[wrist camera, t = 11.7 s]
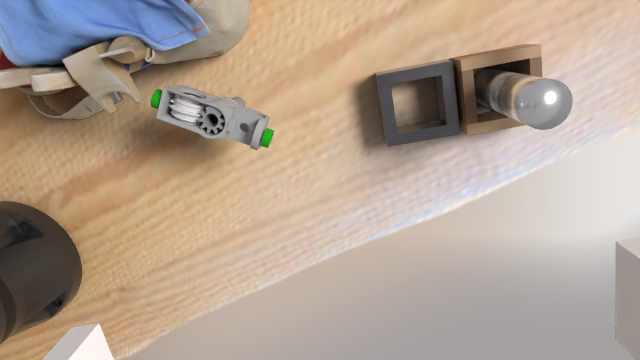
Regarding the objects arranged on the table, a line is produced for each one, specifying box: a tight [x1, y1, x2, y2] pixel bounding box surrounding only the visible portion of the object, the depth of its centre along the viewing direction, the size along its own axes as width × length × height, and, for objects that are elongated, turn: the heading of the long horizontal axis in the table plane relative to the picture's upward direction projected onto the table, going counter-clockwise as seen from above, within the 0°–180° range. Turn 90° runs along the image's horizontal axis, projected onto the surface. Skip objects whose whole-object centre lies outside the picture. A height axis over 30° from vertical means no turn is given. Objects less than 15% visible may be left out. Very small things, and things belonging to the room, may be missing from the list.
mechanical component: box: [151, 85, 274, 150], centre depth 41 cm, size 3×10×10 cm, turn 70°
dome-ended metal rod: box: [474, 69, 572, 130], centre depth 38 cm, size 4×4×13 cm
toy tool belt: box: [0, 0, 250, 119], centre depth 36 cm, size 26×16×16 cm, turn 114°
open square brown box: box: [450, 44, 542, 135], centre depth 42 cm, size 7×7×4 cm
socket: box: [375, 60, 460, 147], centre depth 43 cm, size 7×7×3 cm
